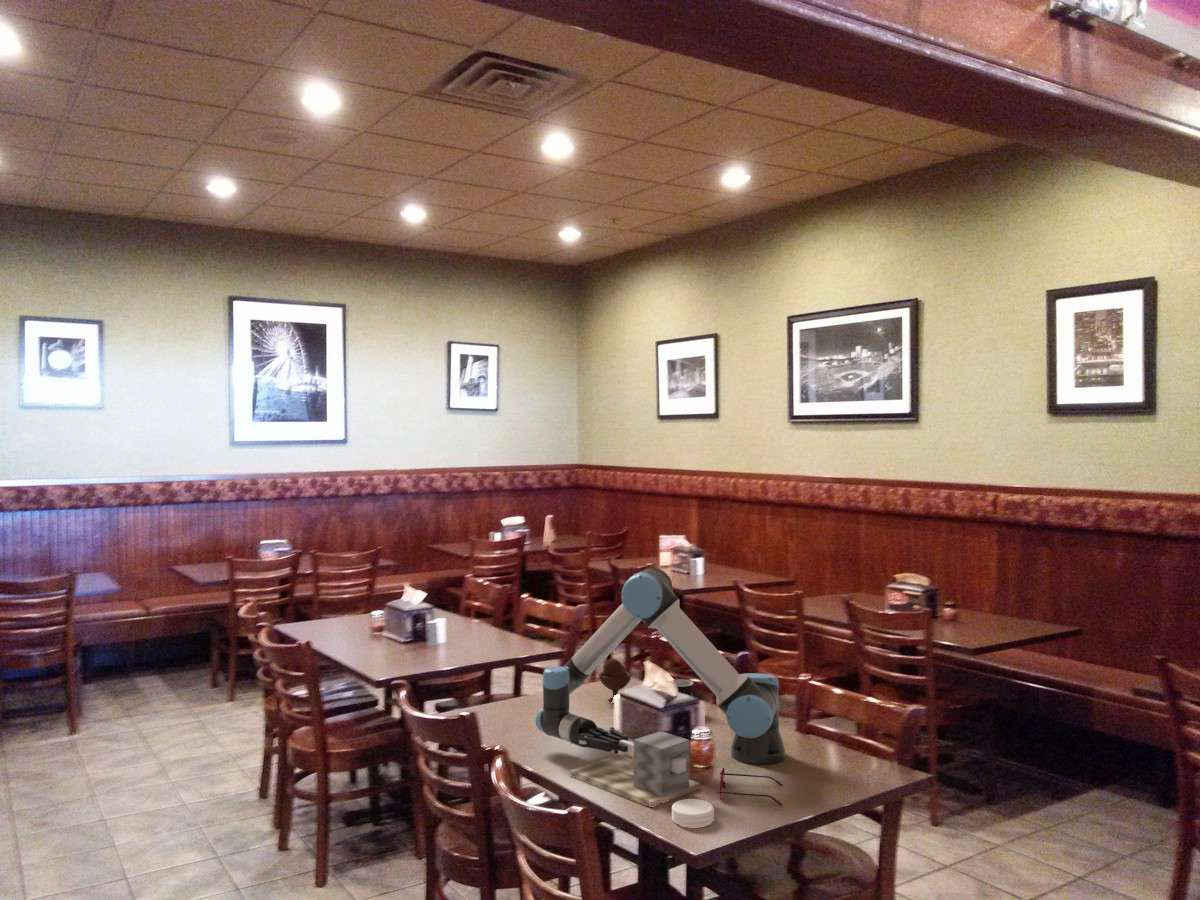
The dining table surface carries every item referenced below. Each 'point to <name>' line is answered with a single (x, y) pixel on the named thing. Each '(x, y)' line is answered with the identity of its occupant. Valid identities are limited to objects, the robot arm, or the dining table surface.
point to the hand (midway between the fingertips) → (638, 751)
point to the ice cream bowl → (614, 676)
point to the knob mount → (644, 770)
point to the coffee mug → (685, 686)
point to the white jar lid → (692, 812)
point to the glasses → (743, 793)
